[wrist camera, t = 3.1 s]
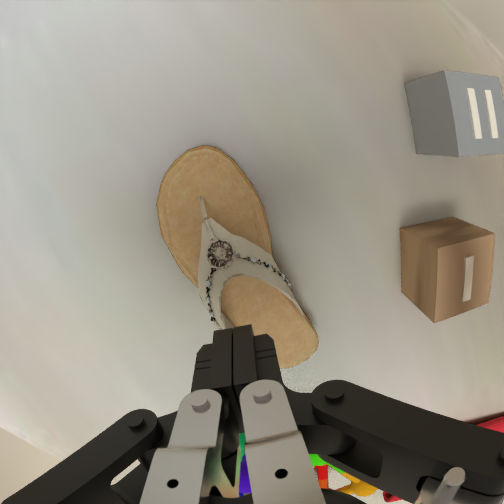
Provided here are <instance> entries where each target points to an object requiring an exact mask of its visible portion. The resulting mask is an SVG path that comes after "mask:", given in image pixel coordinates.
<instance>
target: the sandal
mask: <svg viewBox="0 0 504 504" xmlns="http://www.w3.org/2000/svg"><path fill="white" fill-rule="evenodd" d="M156 206H157V212H158V218H159V224H160V230H161V235H162V237H163V239H164V241H165V243H166V245H167V246H168V248H169V250H170V252H171V253H172V255H173V257H174V259H175V260H176V262H177V264H178V266H179V267H180V269H181V271H182V272H183V273H184V274H185V275H186V276H187V277H188V278H189V280H190V281H191V282H192V283H193V284H194V285H195V286H196V287H197V288H198V289H199V291H200V296H201V299H202V301H203V303H204V305H205V306H206V308H207V309H208V310H209V313H210V316H212V317H211V321H214V324H215V325H217V326H218V327H219V329H221V330H222V329H227V328H233V327H238V326H243V325H248V324H252V327H253V332H254V336H256V335H262V334H268V335H269V336H270V337H271V338H272V339H274V344H275V348H276V353H277V358H278V363H279V367H280V368H290V367H293V366H295V365H298V364H300V363H302V362H303V361H305V360H307V359H308V358H309V357H310V356H311V355H312V354H313V353H314V352H315V351H316V350H317V346H318V342H319V341H318V337H317V333H316V331H315V329H314V327H313V326H312V324H311V322H310V321H309V319H308V318H307V316H306V315H305V313H304V312H303V310H302V309H301V307H300V306H299V305H298V303H297V301H296V299H295V297H294V295H293V294H292V287H291V283H289V282H288V280H287V279H286V277H285V275H284V274H283V273H282V272H280V270H279V268H278V266H277V265H276V263H275V261H274V259H273V254H272V244H271V235H270V231H269V227H268V223H267V219H266V215H265V211H264V207H263V205H262V203H261V201H260V199H259V197H258V195H257V193H256V191H255V189H254V188H253V186H252V184H251V183H250V181H249V180H248V179H247V177H246V176H245V175H244V173H243V172H242V171H241V169H240V168H239V167H238V165H237V164H236V163H235V162H234V160H233V159H231V158H230V157H229V156H227V155H226V154H224V153H223V152H222V151H220V150H219V149H217V148H216V147H211V146H206V145H205V146H200V147H196V148H193V149H190V150H188V151H187V152H185V153H184V154H183V155H182V156H180V157H179V158H178V159H177V160H175V161H174V163H173V164H172V165H171V167H170V168H169V169H168V171H167V172H166V173H165V175H164V178H163V181H162V183H161V186H160V190H159V195H158V199H157V204H156ZM216 321H217V322H216Z"/></svg>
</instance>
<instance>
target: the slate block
mask: <svg viewBox="0 0 504 504" xmlns="http://www.w3.org/2000/svg"><path fill="white" fill-rule="evenodd" d="M404 85H405V90H406V95H407V100H408V105H409V110H410V116H411V121H412V127H413V134H414V140H415V147H416V154H428V155H442V156H454V157H464V156H477V155H491V154H504V101H503V95H502V90H501V85H500V81H499V77H494V76H487V75H480V74H473V73H465V72H456V71H445V70H444V71H441V72H438V73H434V74H431V75H428V76H425V77H422V78H419V79H416V80H413V81H410V82H408V83H405V84H404Z"/></svg>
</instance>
